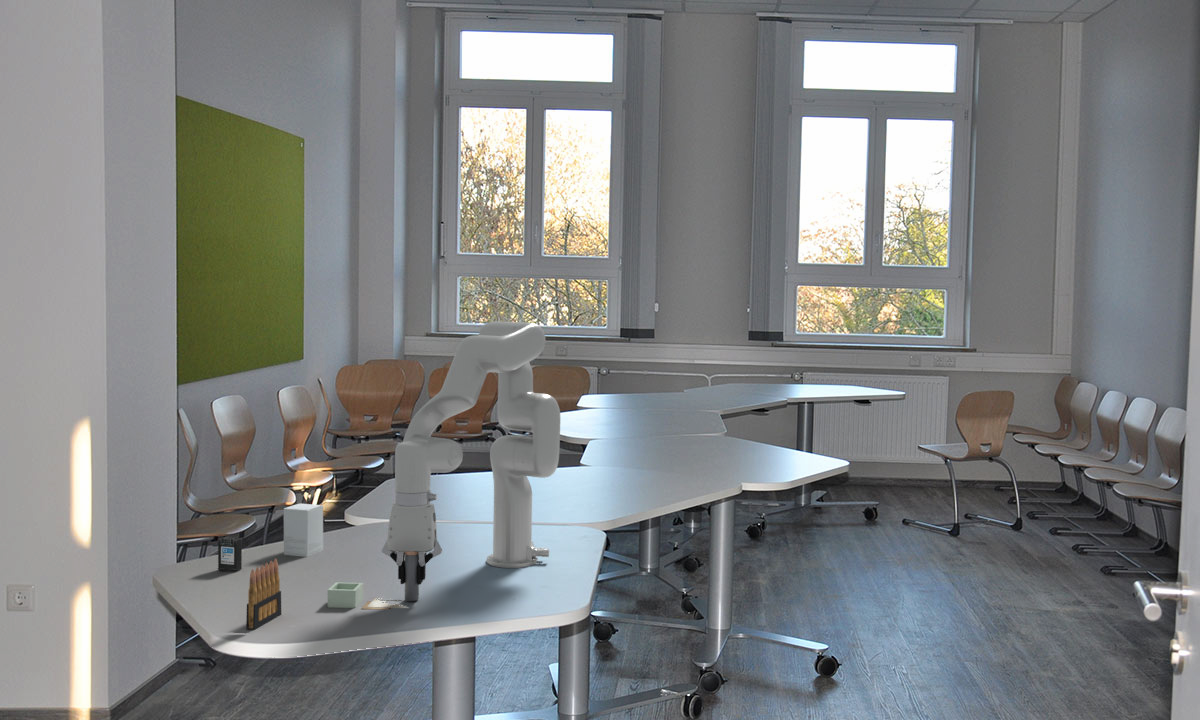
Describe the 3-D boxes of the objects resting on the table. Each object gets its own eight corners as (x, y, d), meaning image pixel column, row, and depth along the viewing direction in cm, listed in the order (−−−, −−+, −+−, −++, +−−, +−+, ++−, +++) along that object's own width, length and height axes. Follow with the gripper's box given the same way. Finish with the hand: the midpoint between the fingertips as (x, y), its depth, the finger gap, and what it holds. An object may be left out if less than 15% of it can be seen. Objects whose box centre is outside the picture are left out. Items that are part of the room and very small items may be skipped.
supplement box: (324, 553, 266) (324, 504, 265) (307, 559, 259) (307, 510, 258) (300, 550, 268) (300, 502, 268) (282, 556, 261) (282, 507, 261)
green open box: (363, 601, 224) (363, 583, 224) (355, 609, 218) (355, 590, 218) (335, 600, 224) (335, 582, 224) (327, 608, 218) (327, 589, 218)
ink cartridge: (217, 571, 246) (217, 538, 246) (222, 568, 249) (222, 536, 248) (236, 572, 245) (236, 539, 245) (241, 570, 248) (241, 537, 247)
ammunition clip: (273, 613, 214) (273, 557, 213) (281, 614, 213) (281, 557, 213) (245, 629, 203) (245, 569, 203) (254, 630, 203) (254, 570, 202)
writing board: (442, 596, 228) (442, 593, 228) (431, 612, 216) (431, 609, 216) (375, 594, 229) (375, 591, 229) (361, 610, 217) (361, 607, 217)
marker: (420, 597, 224) (420, 542, 223) (417, 601, 221) (417, 546, 220) (405, 596, 224) (406, 542, 223) (402, 600, 221) (403, 545, 220)
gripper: (453, 496, 225) (452, 579, 226) (379, 494, 225) (378, 577, 226) (447, 503, 217) (446, 588, 218) (370, 501, 218) (370, 586, 219)
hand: (411, 581), depth 222 cm, fingers closed on marker, 3 cm apart
